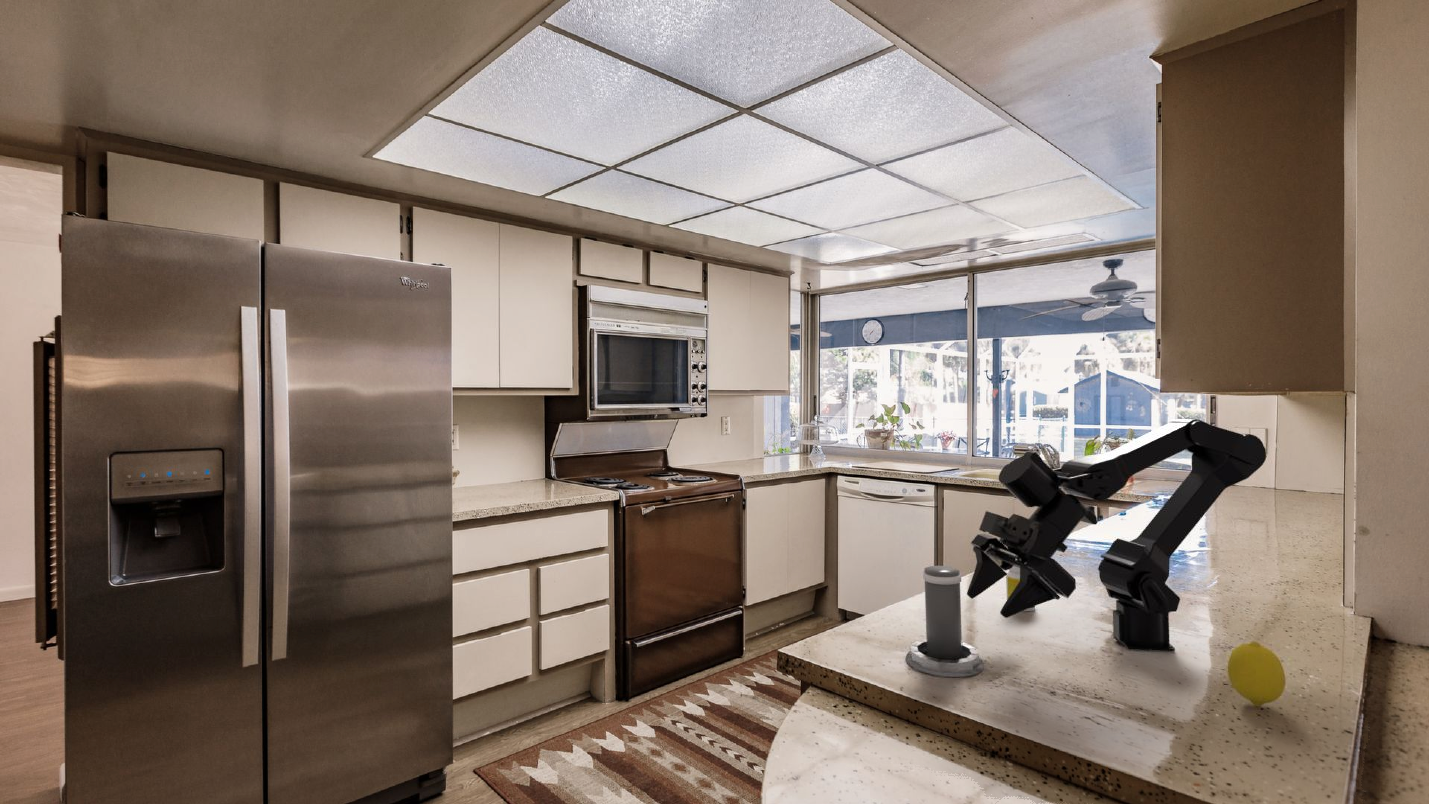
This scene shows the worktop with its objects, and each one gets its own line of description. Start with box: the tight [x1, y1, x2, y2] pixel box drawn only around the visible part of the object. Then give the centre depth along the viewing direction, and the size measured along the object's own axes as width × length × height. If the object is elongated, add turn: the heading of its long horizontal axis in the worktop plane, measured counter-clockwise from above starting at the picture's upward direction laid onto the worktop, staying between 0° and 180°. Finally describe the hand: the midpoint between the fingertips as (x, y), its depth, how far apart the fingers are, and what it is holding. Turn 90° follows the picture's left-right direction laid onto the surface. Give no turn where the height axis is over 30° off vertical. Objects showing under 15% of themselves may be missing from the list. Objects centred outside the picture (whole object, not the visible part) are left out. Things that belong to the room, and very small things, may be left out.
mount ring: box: [905, 638, 985, 679], centre depth 98 cm, size 11×11×2 cm
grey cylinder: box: [922, 565, 963, 660], centre depth 98 cm, size 5×5×14 cm
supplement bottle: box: [1005, 566, 1036, 612], centre depth 121 cm, size 5×5×8 cm
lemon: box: [1227, 641, 1286, 707], centre depth 82 cm, size 6×6×8 cm
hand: (985, 605), depth 99 cm, fingers open, 9 cm apart
